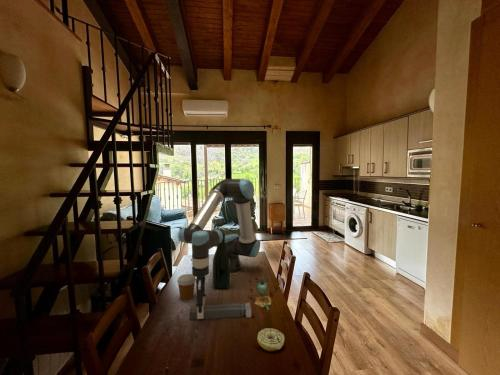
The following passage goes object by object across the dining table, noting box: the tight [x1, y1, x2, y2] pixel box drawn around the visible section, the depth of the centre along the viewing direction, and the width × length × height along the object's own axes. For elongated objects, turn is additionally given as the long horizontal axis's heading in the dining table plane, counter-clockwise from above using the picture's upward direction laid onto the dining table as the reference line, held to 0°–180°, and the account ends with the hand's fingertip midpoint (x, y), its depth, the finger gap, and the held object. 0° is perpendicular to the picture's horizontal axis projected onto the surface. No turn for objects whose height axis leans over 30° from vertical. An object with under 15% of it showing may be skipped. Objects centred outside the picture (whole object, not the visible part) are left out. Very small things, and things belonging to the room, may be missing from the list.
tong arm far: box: [189, 302, 245, 310], centre depth 115 cm, size 2×25×4 cm, turn 97°
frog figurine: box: [254, 276, 272, 311], centre depth 126 cm, size 10×18×15 cm, turn 1°
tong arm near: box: [188, 306, 246, 321], centre depth 112 cm, size 2×25×4 cm, turn 96°
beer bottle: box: [211, 230, 231, 291], centre depth 141 cm, size 10×10×33 cm
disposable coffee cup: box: [176, 273, 197, 302], centre depth 128 cm, size 10×10×12 cm
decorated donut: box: [256, 327, 285, 352], centre depth 97 cm, size 10×11×4 cm
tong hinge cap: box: [244, 302, 252, 319], centre depth 115 cm, size 7×2×4 cm, turn 6°
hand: (201, 314), depth 112 cm, fingers open, 5 cm apart
